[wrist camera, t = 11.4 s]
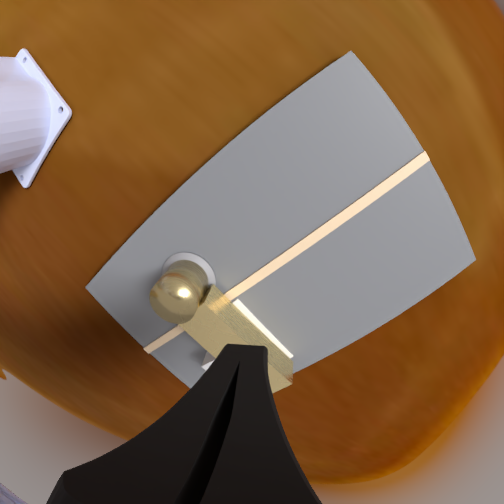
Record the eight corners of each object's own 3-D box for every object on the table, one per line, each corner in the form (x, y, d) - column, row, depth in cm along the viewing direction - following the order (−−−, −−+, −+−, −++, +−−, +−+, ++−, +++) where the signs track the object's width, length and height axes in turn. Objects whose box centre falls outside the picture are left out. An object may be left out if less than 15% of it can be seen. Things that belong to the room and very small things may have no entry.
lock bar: (158, 275, 19) (140, 298, 17) (186, 251, 18) (169, 272, 16) (264, 375, 21) (260, 403, 19) (295, 359, 20) (293, 388, 18)
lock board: (91, 281, 22) (71, 300, 19) (348, 54, 14) (358, 41, 11) (216, 399, 25) (209, 424, 23) (469, 253, 17) (490, 273, 14)
